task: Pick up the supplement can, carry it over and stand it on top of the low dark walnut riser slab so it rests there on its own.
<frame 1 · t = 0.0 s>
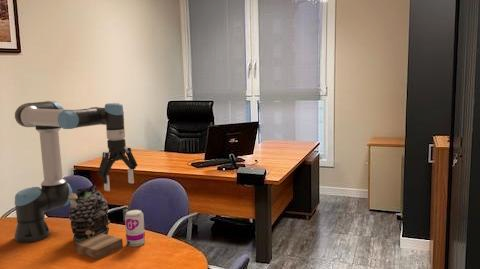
hand: (119, 186, 186), 28 cm above the table, fingers open, 13 cm apart
decorative house: (91, 237, 203), on the table
supplement can: (136, 244, 193), on the table
walnut riser: (99, 249, 187), on the table
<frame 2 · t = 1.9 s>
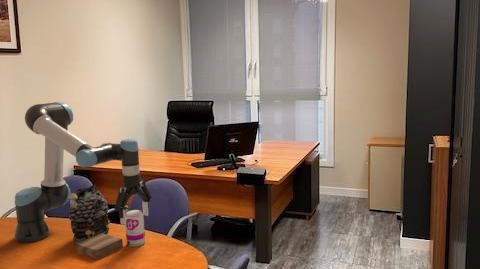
hand: (134, 219, 192), 11 cm above the table, fingers open, 13 cm apart
nothing on the table moved.
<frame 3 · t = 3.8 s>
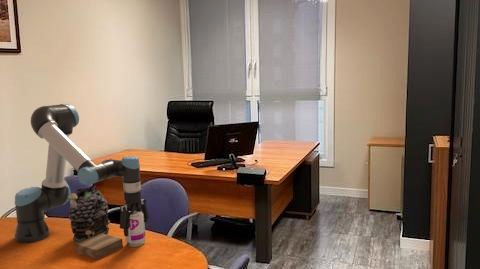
hand: (135, 238, 193), 2 cm above the table, fingers closed on supplement can, 8 cm apart
supplement can: (136, 244, 193), on the table, touching gripper
everything else where it was.
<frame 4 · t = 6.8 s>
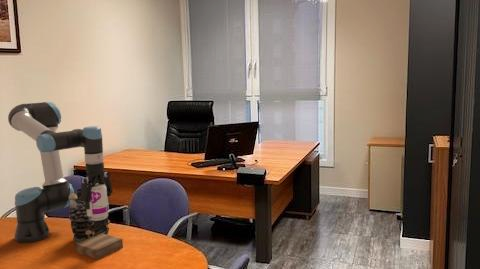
hand: (98, 212, 186), 17 cm above the table, fingers closed on supplement can, 8 cm apart
supplement can: (98, 218, 186), point 14 cm above the table, touching gripper
everything else where it was.
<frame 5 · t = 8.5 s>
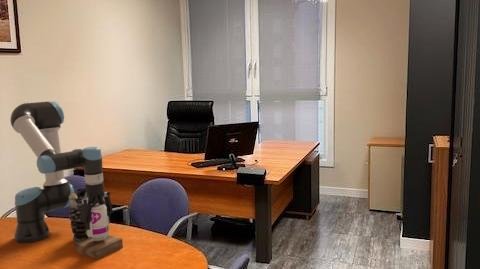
hand: (98, 232, 186), 8 cm above the table, fingers closed on supplement can, 8 cm apart
supplement can: (99, 238, 187), point 5 cm above the table, touching gripper
everything else where it was.
when the fingers open (7 cm above the table, at t = 9.8 s): supplement can stays where it is, resting on walnut riser.
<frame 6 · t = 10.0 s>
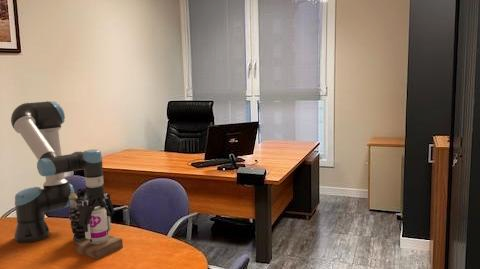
hand: (98, 234, 186), 7 cm above the table, fingers open, 10 cm apart
supplement can: (99, 241, 187), point 4 cm above the table, touching walnut riser
everything else where it was.
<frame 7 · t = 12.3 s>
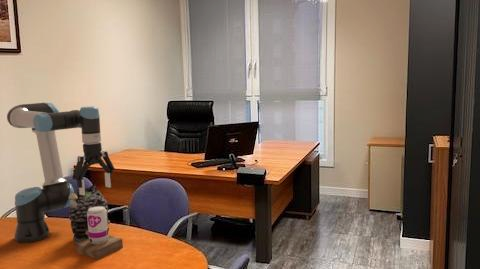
hand: (95, 190, 184), 27 cm above the table, fingers open, 13 cm apart
nothing on the table moved.
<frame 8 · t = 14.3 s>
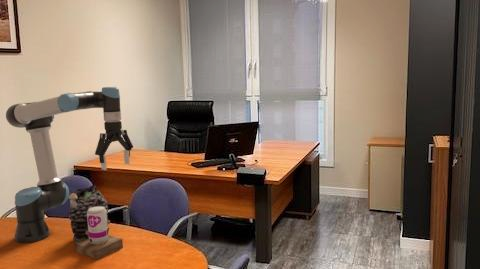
hand: (116, 166, 195), 35 cm above the table, fingers open, 13 cm apart
nothing on the table moved.
at the end: supplement can inside the target area on the walnut riser (0.0 cm from its centre), point 3.8 cm above the walnut riser's base; supplement can tilted 0°; the gripper is holding nothing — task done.
